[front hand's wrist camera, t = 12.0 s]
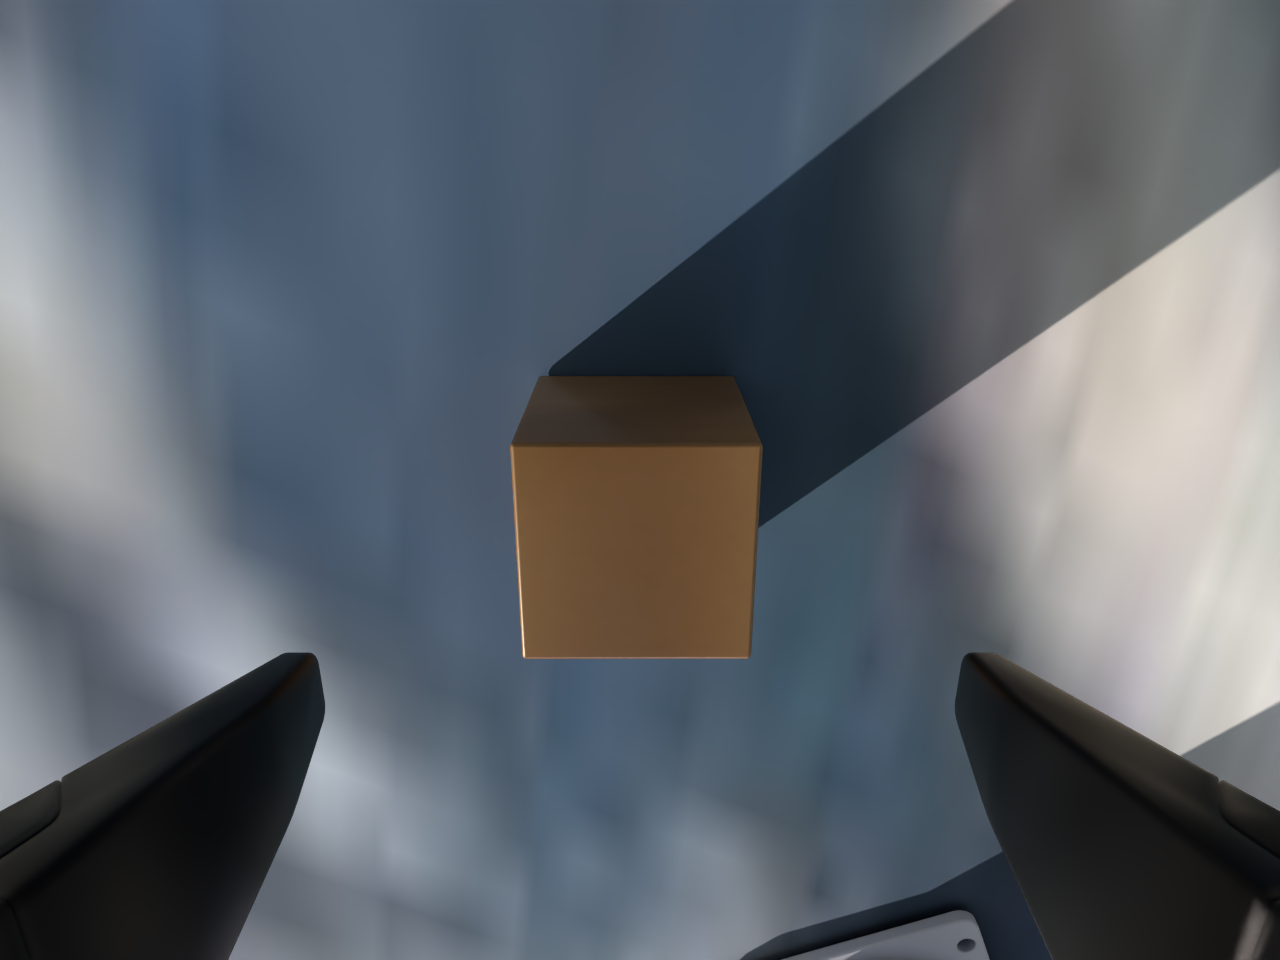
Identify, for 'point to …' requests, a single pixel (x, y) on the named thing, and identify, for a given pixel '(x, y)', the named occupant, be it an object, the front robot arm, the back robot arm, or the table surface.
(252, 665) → the table surface
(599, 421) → the brown rectangular block
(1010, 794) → the front robot arm
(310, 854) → the table surface
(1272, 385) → the table surface
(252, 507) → the table surface
